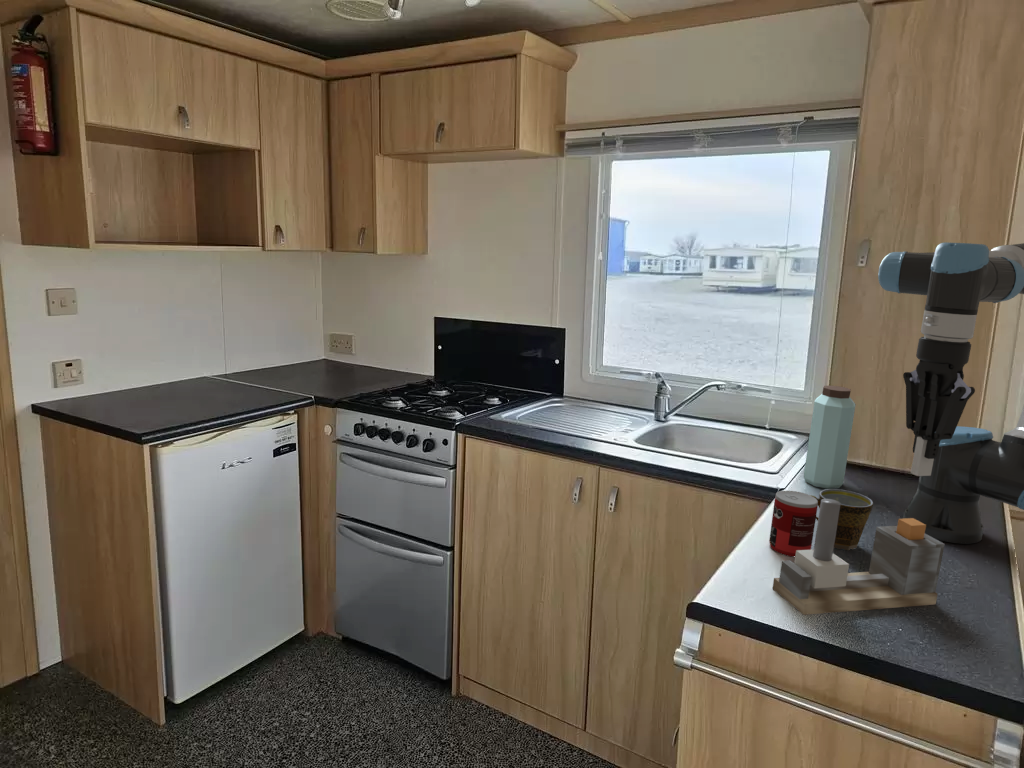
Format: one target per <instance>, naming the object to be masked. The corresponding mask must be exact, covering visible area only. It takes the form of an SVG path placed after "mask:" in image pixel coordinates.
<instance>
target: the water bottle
mask: <svg viewBox="0 0 1024 768" xmlns="http://www.w3.org/2000/svg"><path fill="white" fill-rule="evenodd" d="M851 391H852V389H851V388H848V387H845V386H838V385H824V386H823V389H822V393H821V394H820V395H819V396H817V397H816V398H815V399H814V401H813V402H814V403H813V411H812V416H811V421H810V422H811V423H810V430H809V438H808V444H807V449H806V450H807V451H806V457H805V464H804V471H803V480H804V481H805V482H806V483H807V484H810V485H811V486H813V487H817V488H822V489H825V490H826V489H840V487H842V486H843V484H844V481H845V474H846V467H847V462H848V455H849V449H850V442H851V438H852V437H851V435H852V431H853V430H852V429H853V424H854V418H855V411H856V403H855V402H854V399H852V398H851Z"/></svg>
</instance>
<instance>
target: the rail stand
mask: <svg viewBox="0 0 1024 768" xmlns="http://www.w3.org/2000/svg"><path fill="white" fill-rule="evenodd" d="M875 527H876V529H875V535H874V540H873V546H872V551H871V558H870V564H869V570H868V571H861V572H859V571H858V572H848V575H847V581H846V586H842V587H828V588H813V587H812V586H811V585H810V583H811V576H810V575H809V574H807V573H806V572H805V571H803V570H802V569H801V568H799V567H798V566H797V565H796V564H794V562H793V561H792V560H790V559H789V560H782V561H781V565H780V571H779V577H774V578H773V582H772V589H773V590H774V591H775V592H776V593H777V594H778V595H779V596H780V597H782V598H783V599H784V600H785V601H786V602H788V603H789V604H790V605H791V606H793V607H794V608H795V609H796V610H797V611H798V612H799V613H800V614H801V615H803V616H809V615H819V614H830V613H831V614H833V613H845V612H847V613H848V612H858V611H869V610H871V611H872V610H881V609H883V610H884V609H892V608H893V609H895V608H907V607H920V606H921V607H922V606H929V605H931V606H932V605H936V604H937V600H938V599H937V598H938V593H937V592H936V591H937V587H938V586H937V585H938V582H939V581H938V580H939V575H940V572H941V571H940V570H941V566H942V561H943V555H944V550H945V546H946V545H945V543H943V541H941V540H937V539H934V538H933V537H931V536H929V535H927V534H924V539H919V540H908V539H906V538H904V537H902V536H901V535H899V534H897V533H896V531H897V525H885V526H875Z"/></svg>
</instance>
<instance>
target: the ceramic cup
mask: <svg viewBox="0 0 1024 768" xmlns="http://www.w3.org/2000/svg"><path fill="white" fill-rule="evenodd" d="M818 494H819V498H818V497H816V495H812V494H811V495H810V494H809V495H810V496H812V497H814V498H816V499H817V501H818V508H819V509H820V505H821V500H822V499H832V500H836V501H838V502H840V503H841V504H840V511H839V517H838V523H837V530H836V536H835V542H834V549H835V548H837V549H838V550H841V549H844V550H843V551H851V550H850V549H852V550H855V549H854V548H856V549H857V548H858V545H859V543H860V540H861V537H862V534H863V531H864V529H865V526H866V524H867V522H868V519H869V517H870V515H871V512H872V509H873V506H874V502H873V500H872V499H871V498H869V497H868V496H866V495H863V494H861V493H858V492H855V491H851V490H845V489H840V488H834V489H826V488H825V489H822V490H820V491H819V493H818ZM818 518H819V516H816V520H817V522H818ZM837 549H836V550H837Z"/></svg>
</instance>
